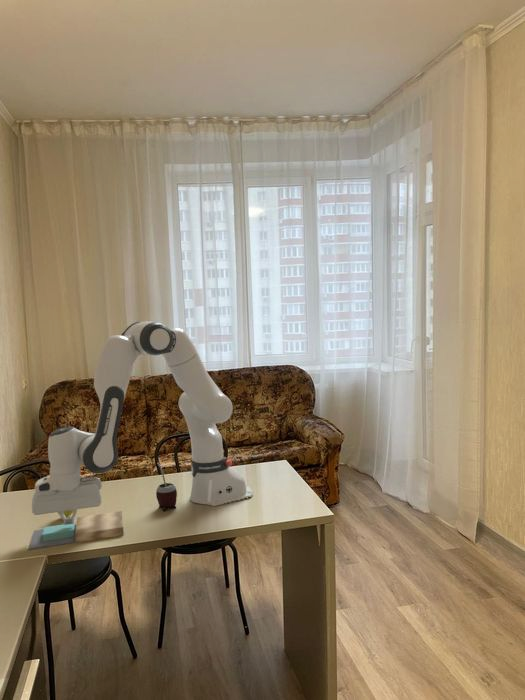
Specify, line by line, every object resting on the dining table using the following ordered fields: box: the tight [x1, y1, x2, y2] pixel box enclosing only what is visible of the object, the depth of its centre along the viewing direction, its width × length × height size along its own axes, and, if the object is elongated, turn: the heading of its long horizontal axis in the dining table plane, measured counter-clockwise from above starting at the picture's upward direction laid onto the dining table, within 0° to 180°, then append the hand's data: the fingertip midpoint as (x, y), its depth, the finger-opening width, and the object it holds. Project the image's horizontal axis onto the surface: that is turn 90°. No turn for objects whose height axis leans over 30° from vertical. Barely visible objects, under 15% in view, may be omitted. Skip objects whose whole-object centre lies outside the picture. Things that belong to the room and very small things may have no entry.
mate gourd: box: [155, 461, 178, 512], centre depth 186 cm, size 8×8×15 cm
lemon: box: [57, 510, 73, 518], centre depth 181 cm, size 6×6×8 cm
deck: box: [75, 510, 125, 543], centre depth 170 cm, size 14×14×2 cm
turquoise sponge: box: [42, 522, 76, 541], centre depth 167 cm, size 9×6×2 cm, turn 106°
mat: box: [28, 523, 76, 550], centre depth 166 cm, size 13×14×1 cm
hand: (69, 523), depth 167 cm, fingers closed
